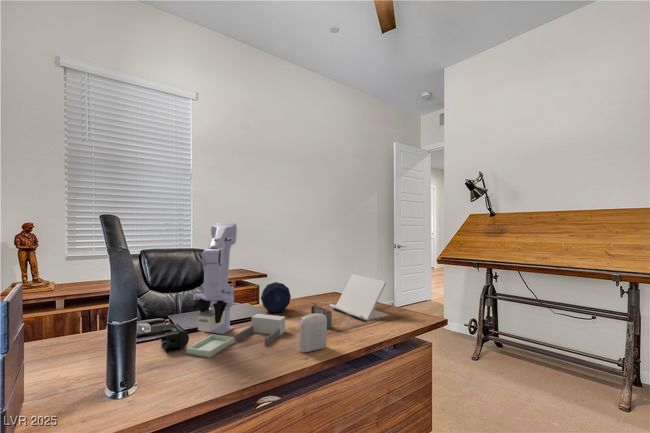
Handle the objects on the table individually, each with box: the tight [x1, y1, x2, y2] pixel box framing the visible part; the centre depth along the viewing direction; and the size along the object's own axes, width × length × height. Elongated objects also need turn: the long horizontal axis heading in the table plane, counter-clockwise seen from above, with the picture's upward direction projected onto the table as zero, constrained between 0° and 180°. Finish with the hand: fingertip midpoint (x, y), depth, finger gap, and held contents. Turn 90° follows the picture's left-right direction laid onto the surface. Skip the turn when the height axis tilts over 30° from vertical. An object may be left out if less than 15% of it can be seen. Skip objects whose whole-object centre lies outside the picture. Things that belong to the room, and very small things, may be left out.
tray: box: [185, 333, 235, 359], centre depth 115 cm, size 10×14×2 cm
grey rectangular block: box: [197, 308, 225, 333], centre depth 115 cm, size 5×10×6 cm, turn 163°
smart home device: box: [137, 323, 174, 337], centre depth 132 cm, size 8×2×20 cm
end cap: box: [160, 323, 190, 354], centre depth 116 cm, size 10×7×7 cm
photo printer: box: [298, 313, 328, 353], centre depth 116 cm, size 10×4×12 cm, turn 123°
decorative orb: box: [260, 281, 292, 314], centre depth 163 cm, size 14×15×15 cm
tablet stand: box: [329, 273, 389, 321], centre depth 163 cm, size 18×25×17 cm
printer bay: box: [235, 313, 286, 347], centre depth 128 cm, size 13×16×6 cm
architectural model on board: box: [310, 301, 333, 330], centre depth 142 cm, size 11×3×10 cm, turn 38°
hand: (211, 321), depth 115 cm, fingers closed on grey rectangular block, 4 cm apart
